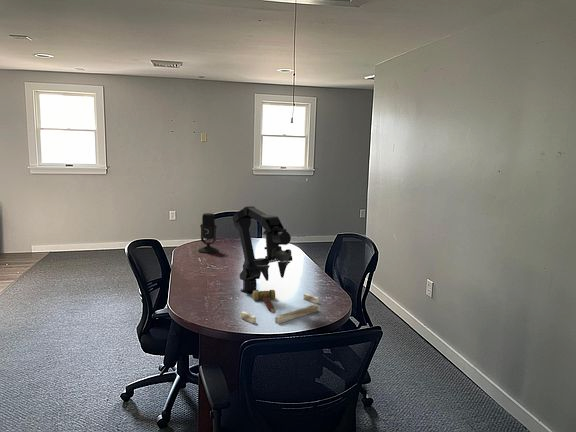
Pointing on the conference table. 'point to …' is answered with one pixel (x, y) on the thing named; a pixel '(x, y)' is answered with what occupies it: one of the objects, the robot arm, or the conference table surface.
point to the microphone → (208, 233)
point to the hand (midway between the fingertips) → (274, 279)
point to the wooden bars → (289, 315)
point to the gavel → (265, 298)
